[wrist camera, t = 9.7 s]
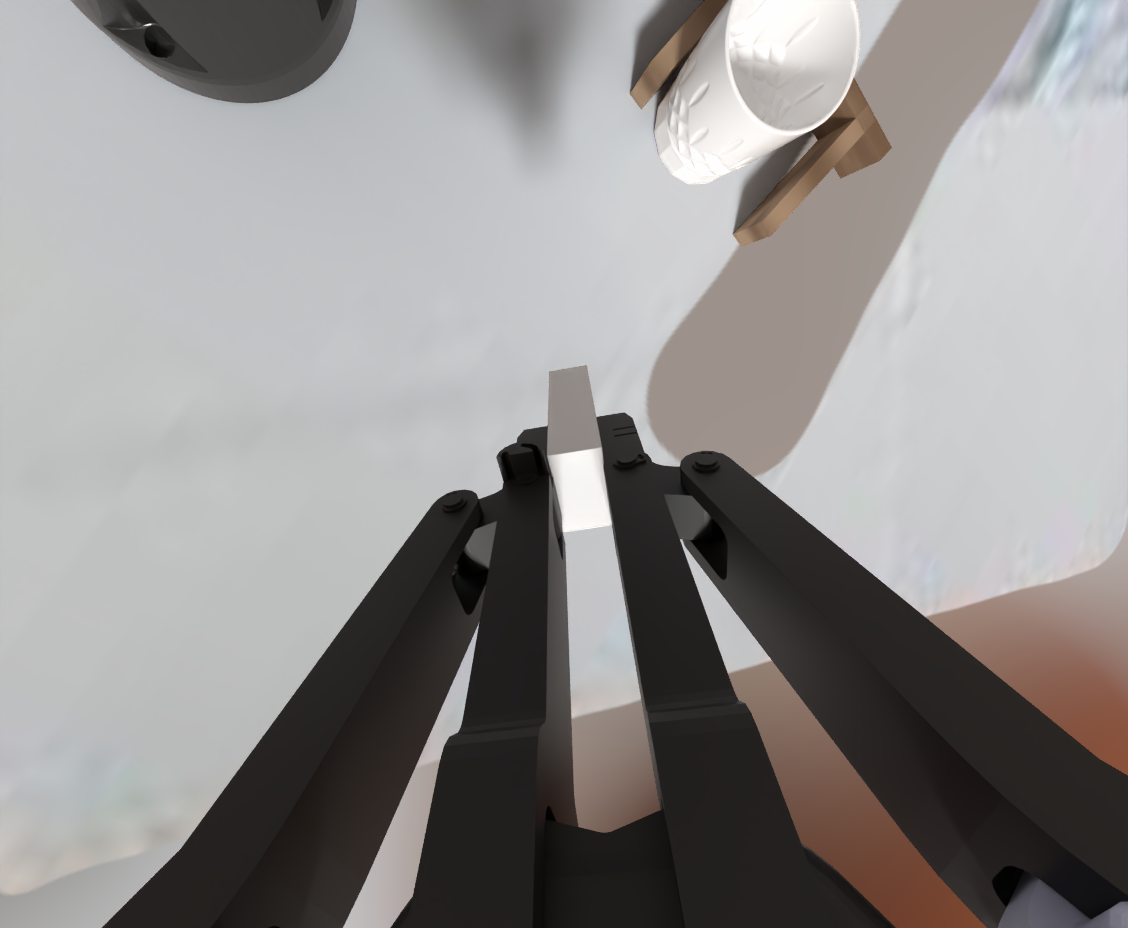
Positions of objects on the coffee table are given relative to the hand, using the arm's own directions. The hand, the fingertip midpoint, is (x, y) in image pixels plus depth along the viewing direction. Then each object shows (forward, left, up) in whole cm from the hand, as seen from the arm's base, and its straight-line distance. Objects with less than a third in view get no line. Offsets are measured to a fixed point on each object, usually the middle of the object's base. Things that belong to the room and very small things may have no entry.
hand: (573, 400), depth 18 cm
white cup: (-10, +19, -17) cm, 27 cm away
